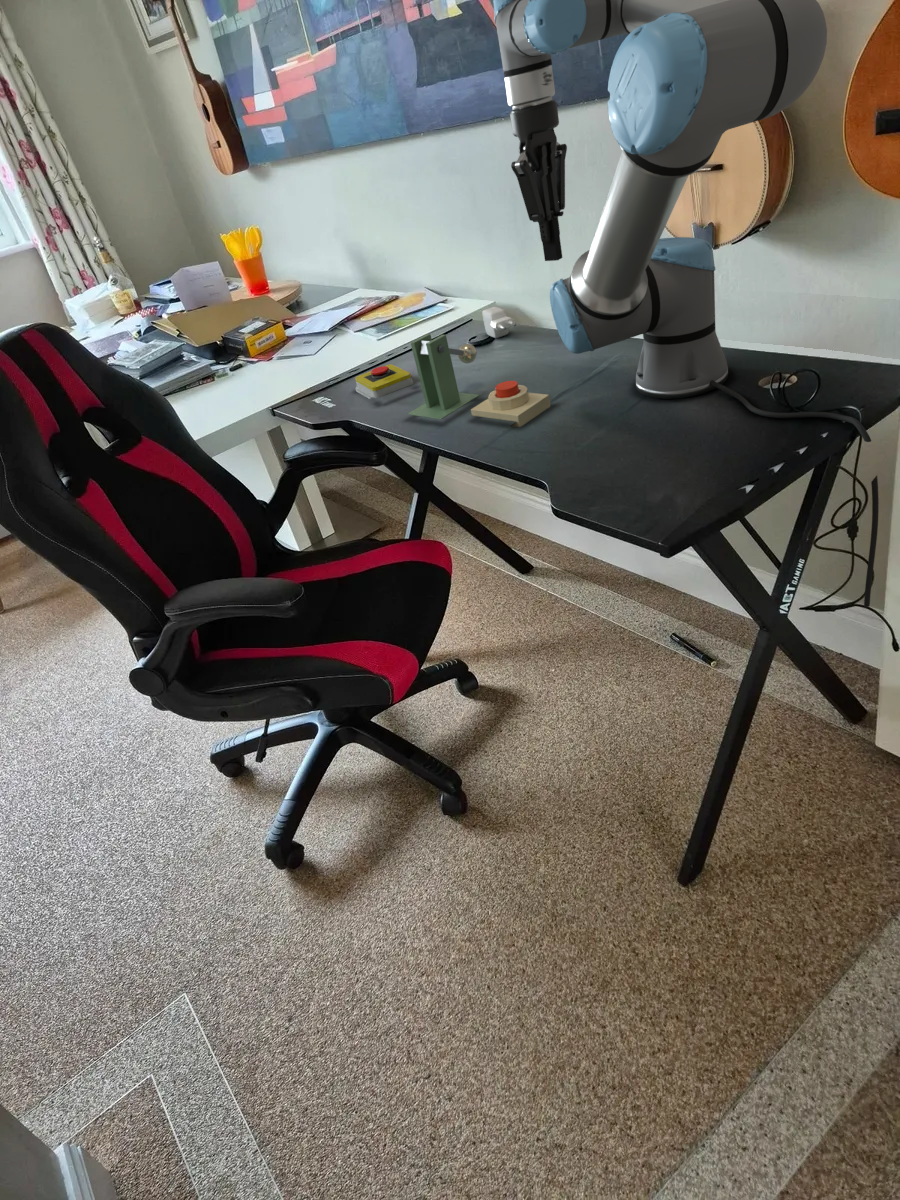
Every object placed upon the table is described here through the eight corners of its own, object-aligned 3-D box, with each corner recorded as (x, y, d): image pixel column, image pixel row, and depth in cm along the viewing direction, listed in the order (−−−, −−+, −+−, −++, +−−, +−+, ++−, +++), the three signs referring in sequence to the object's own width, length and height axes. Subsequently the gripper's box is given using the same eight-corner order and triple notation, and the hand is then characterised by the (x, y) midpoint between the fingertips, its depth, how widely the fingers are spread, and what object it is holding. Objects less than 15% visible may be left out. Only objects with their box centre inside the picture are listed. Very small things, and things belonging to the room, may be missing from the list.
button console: (550, 406, 138) (547, 384, 136) (519, 427, 134) (515, 405, 132) (503, 400, 146) (500, 380, 143) (472, 420, 141) (468, 400, 139)
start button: (523, 391, 137) (522, 381, 136) (509, 400, 135) (508, 390, 134) (506, 389, 140) (504, 379, 139) (492, 398, 138) (490, 388, 137)
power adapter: (522, 338, 174) (518, 311, 171) (503, 345, 173) (498, 318, 170) (501, 329, 183) (497, 304, 180) (483, 335, 182) (478, 310, 179)
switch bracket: (447, 396, 154) (431, 327, 146) (480, 400, 148) (465, 328, 141) (408, 419, 148) (390, 348, 141) (442, 424, 143) (424, 351, 135)
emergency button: (387, 356, 170) (415, 369, 158) (392, 375, 172) (420, 390, 161) (348, 371, 167) (375, 385, 156) (354, 390, 170) (380, 405, 158)
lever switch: (465, 363, 152) (467, 344, 151) (479, 364, 149) (481, 345, 148) (417, 357, 142) (418, 336, 141) (430, 358, 140) (432, 337, 139)
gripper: (527, 107, 117) (550, 270, 130) (574, 91, 124) (591, 247, 137) (489, 115, 122) (514, 271, 135) (536, 99, 129) (556, 249, 142)
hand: (553, 259), depth 136 cm, fingers closed
